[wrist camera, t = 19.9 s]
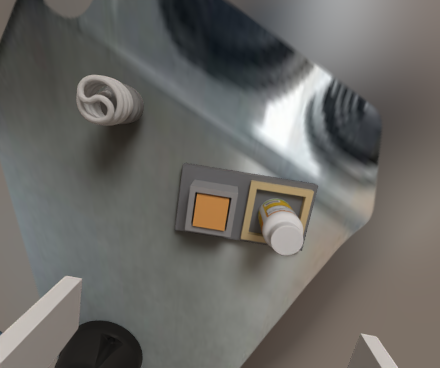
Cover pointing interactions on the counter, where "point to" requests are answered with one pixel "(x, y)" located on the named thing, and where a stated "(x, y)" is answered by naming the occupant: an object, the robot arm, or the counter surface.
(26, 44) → the counter surface
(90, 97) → the light bulb
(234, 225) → the base
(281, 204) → the supplement bottle
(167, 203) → the counter surface
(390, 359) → the robot arm
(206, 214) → the switch button
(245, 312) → the counter surface
